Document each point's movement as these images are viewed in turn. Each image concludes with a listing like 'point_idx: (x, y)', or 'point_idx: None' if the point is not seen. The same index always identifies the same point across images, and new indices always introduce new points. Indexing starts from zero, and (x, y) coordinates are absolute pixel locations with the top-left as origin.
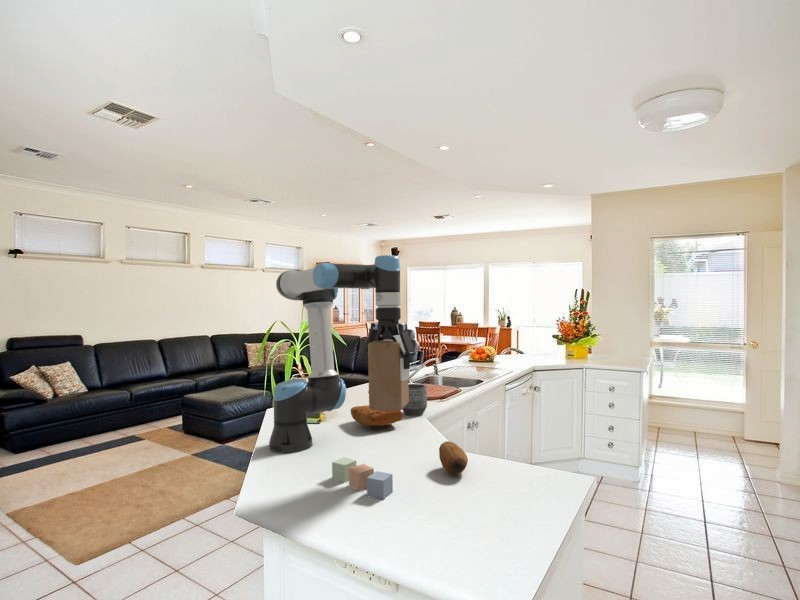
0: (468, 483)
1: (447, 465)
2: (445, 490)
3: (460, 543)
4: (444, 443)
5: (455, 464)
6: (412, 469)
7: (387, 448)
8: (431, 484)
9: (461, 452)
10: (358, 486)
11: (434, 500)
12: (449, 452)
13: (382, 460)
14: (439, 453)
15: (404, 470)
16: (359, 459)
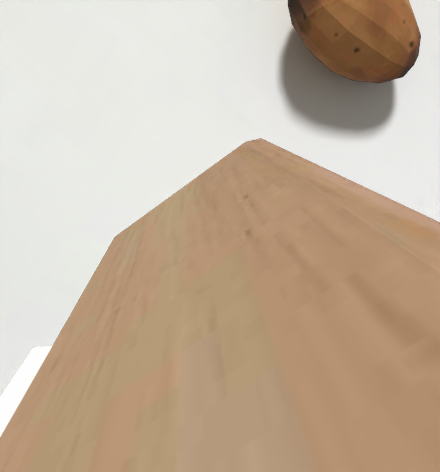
0: (421, 66)
1: (371, 81)
2: (399, 150)
3: None
4: (328, 12)
5: (405, 73)
6: (234, 119)
7: (4, 47)
8: (349, 152)
9: (399, 3)
10: None
11: (413, 209)
12: (377, 51)
13: (109, 143)
14: (306, 40)
15: (224, 143)
16: (56, 194)
